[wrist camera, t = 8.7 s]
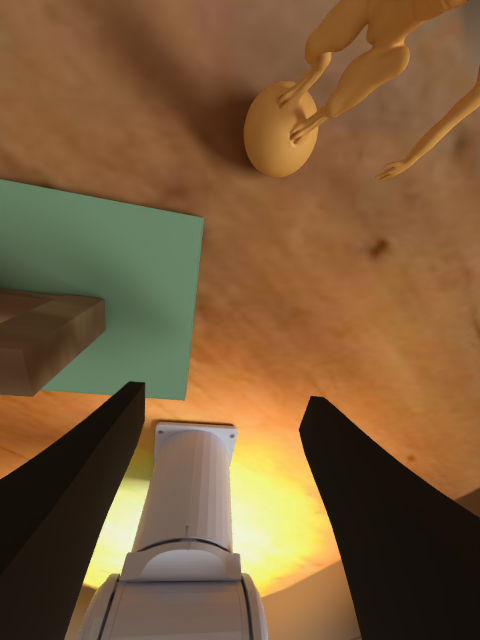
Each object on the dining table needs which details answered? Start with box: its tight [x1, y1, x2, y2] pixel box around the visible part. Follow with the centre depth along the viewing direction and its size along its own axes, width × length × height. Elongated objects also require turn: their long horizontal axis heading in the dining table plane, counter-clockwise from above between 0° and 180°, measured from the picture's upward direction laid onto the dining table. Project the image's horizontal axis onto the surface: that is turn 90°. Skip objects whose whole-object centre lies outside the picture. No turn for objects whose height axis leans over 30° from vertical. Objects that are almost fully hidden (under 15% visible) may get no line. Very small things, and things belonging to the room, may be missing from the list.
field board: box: [0, 179, 204, 400], centre depth 16 cm, size 15×21×1 cm
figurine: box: [244, 0, 480, 180], centre depth 8 cm, size 8×6×12 cm
